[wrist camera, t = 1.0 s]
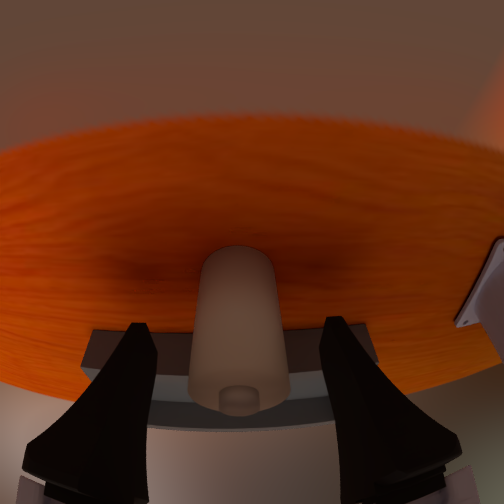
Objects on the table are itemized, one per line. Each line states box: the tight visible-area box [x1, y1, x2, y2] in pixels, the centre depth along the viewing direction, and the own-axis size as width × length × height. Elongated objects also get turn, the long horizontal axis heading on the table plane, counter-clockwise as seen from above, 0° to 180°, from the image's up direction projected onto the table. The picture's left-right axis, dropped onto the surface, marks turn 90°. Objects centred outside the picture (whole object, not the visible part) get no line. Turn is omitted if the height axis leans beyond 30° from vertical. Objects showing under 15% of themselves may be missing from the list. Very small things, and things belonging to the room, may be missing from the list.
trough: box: [80, 324, 379, 432], centre depth 19 cm, size 18×10×3 cm, turn 91°
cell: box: [187, 246, 291, 416], centre depth 12 cm, size 4×4×7 cm
